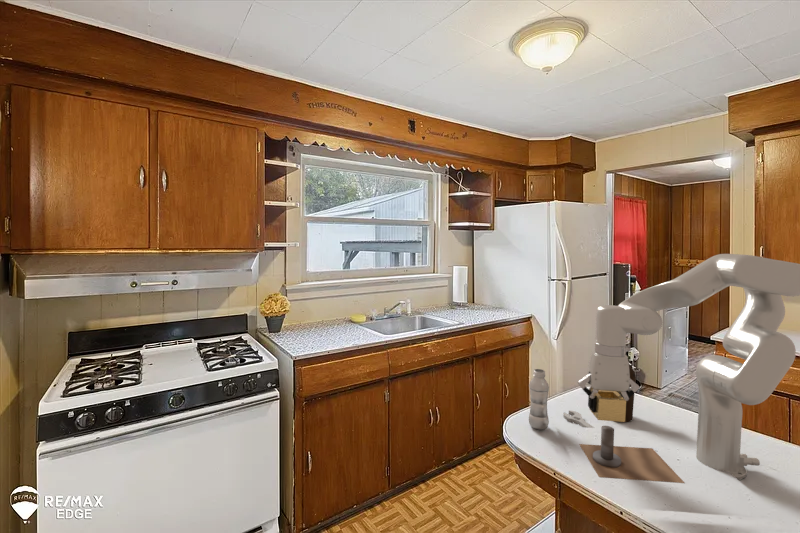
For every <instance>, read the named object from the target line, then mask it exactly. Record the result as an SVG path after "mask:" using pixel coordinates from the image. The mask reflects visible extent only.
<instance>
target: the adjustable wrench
mask: <svg viewBox="0 0 800 533" xmlns="http://www.w3.org/2000/svg"><path fill="white" fill-rule="evenodd" d="M562 415H563V419H565V420H566V421H567V422H568V423H573V422H574V423H573V424H576V425H578V424H579V426H580V427H582V428H585V429H586V428H589V429H595V427H594V426H593V425H592V424H590V423H588V422H587V421H586V420H585V419H584V418H583V416H582V414H581V413H580V412H578V411H576V410H568V413H566V412H563V414H562Z"/></svg>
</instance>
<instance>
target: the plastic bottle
mask: <svg viewBox="0 0 800 533" xmlns="http://www.w3.org/2000/svg"><path fill="white" fill-rule="evenodd" d="M532 375H533V378H532V379H531V380H530V381H529V384H528V387H529V396H530V409H529V415H528V424H529V426H530V427H531V428H532V429H535V430H539V431H544V430H547V428H548V427H549V422H550V420H549V415H548V414H549V413H548V397H549V390H550V386H549V383H548V381H547V380H546V371H545V370H544V369H540V368H536V369H535V368H534V369H533V374H532Z"/></svg>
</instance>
